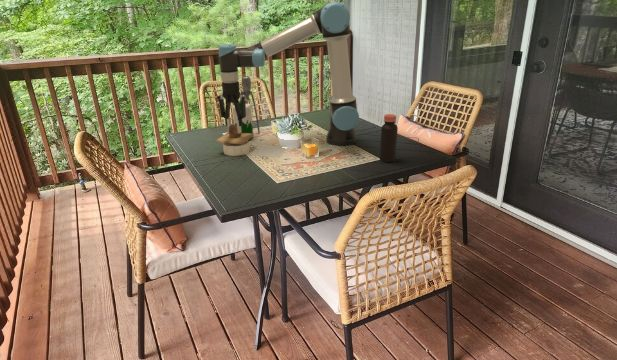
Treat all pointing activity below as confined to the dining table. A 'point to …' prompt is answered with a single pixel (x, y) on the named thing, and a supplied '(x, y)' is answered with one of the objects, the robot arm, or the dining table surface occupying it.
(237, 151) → the bowl
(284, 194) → the dining table surface
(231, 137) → the lid
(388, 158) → the bottle
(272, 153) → the mat
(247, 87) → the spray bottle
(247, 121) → the milk carton
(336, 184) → the dining table surface
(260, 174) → the dining table surface
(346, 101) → the robot arm
